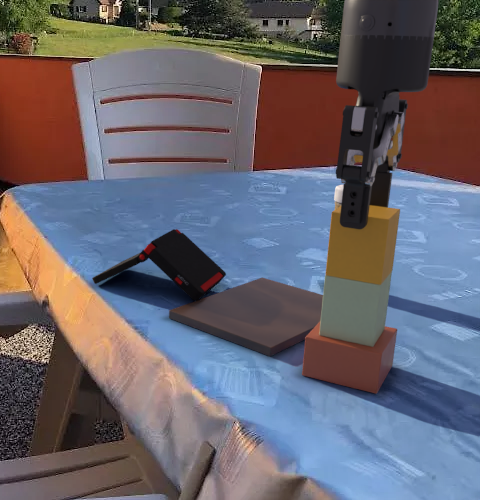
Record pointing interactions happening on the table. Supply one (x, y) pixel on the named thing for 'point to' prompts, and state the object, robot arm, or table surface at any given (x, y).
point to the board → (255, 315)
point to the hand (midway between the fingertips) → (364, 218)
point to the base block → (349, 360)
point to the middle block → (354, 310)
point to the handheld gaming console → (175, 264)
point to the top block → (363, 246)
